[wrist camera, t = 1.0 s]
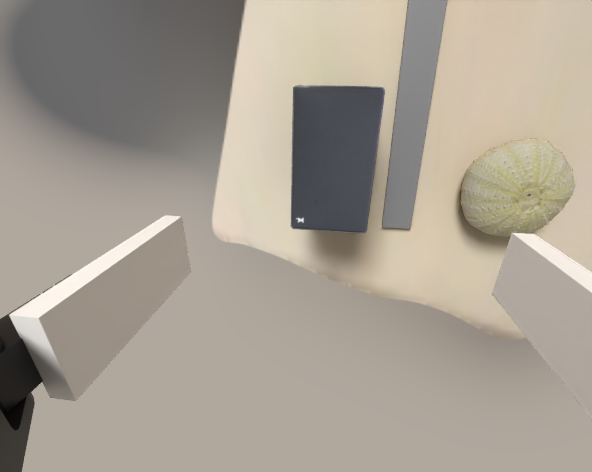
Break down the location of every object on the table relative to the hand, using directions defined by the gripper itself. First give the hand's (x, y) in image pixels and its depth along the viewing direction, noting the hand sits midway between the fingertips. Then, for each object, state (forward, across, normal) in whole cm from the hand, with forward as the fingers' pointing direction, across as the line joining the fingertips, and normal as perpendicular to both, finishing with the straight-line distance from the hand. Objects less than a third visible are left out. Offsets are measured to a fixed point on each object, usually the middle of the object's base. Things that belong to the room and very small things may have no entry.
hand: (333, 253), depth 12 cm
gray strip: (+21, +7, +5) cm, 22 cm away
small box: (+21, 0, +2) cm, 21 cm away
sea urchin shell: (+21, +17, -2) cm, 27 cm away
